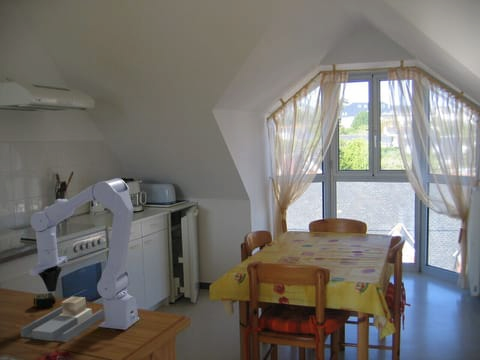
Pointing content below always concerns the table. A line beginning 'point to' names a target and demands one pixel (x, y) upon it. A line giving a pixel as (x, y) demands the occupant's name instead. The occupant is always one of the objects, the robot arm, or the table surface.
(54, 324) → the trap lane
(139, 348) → the table surface
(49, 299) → the tape measure
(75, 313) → the maple block
